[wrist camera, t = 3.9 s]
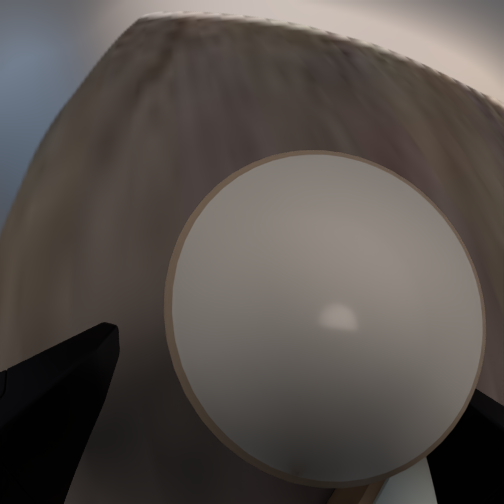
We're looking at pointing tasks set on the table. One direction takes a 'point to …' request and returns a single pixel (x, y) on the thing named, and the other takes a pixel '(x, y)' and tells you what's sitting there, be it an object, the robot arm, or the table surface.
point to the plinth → (392, 489)
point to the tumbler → (324, 319)
